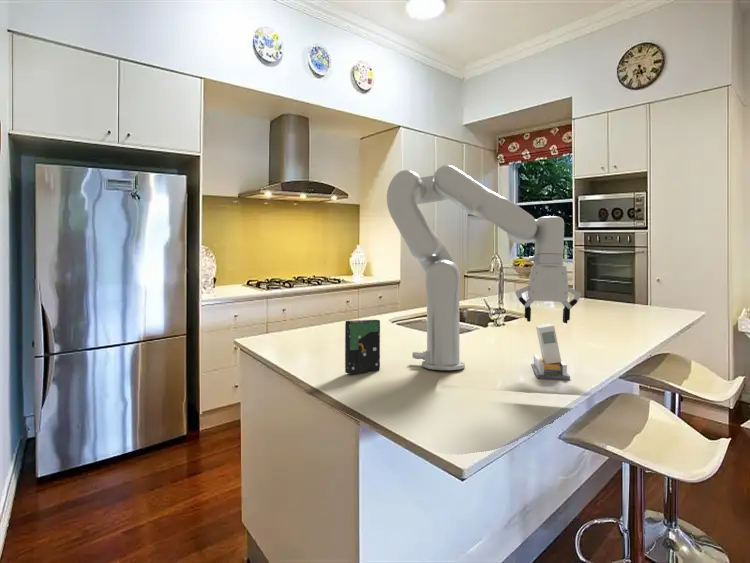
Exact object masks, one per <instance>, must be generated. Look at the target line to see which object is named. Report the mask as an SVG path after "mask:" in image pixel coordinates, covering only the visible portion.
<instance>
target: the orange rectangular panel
mask: <svg viewBox="0 0 750 563" xmlns="http://www.w3.org/2000/svg"><path fill="white" fill-rule="evenodd" d="M539 358H540V357H539ZM540 359H541V361H542V362H543V363H544V369H554V370H560V365H559V364H558V363H551V364H546V363H545V362H544V361H543V359H542V357H541V358H540Z"/></svg>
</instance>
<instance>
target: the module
mask: <svg viewBox="0 0 750 563" xmlns="http://www.w3.org/2000/svg"><path fill="white" fill-rule="evenodd" d="M535 327H536V332H537V339H538V343H539V344H538V345H539V349H540V353H541V354H540V355H541V358H542V359H543V361H544V362H545V363H546V364H551V363H558V362H561V360H562V359H561V358H562V357H561V354H560V349H559V347H560V346H559V343H558V338H557V333H556V328H555V325H554V324H552V323H551V322H550V323H543V324H538V325H537V324H536V325H535Z"/></svg>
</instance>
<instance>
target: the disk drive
mask: <svg viewBox="0 0 750 563" xmlns="http://www.w3.org/2000/svg"><path fill="white" fill-rule="evenodd" d="M344 326H345V328H344V330H345V331H344V333H345V334H344V335H345V336H344V337H345V338H344V340H345V341H344V343H345V345H344V356H345V357H344V368H345V369H344V372H345V374H348V375H355V374H362V373H369V372H379V370H381V368H380V367H381V361H380V360H381V354H380V353H381V321H380V319H360V320H359V319H357V320H345V324H344Z"/></svg>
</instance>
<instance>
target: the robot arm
mask: <svg viewBox="0 0 750 563" xmlns="http://www.w3.org/2000/svg"><path fill="white" fill-rule="evenodd" d="M446 200H450V201H451V202H453V203H454V204H455V205H457V206H459V207H460V208H462V209H463V210H465V211H466V212H467V213H468V214H471V215H472V216H474V217H478V218H481V219H484V220H486V221H488V222H489V223H491V224H494V225H495V226H496V227H498V228H499V229H501V230H503V232H505V233H506V236H507V238H508V239H509V240H510V241H511V242H512V243H514V244H521V245H522V244H529V243H534V254H533V256H528V262H531V263H533V265H531V267H530V274H529V279H528V285H526V286H524V287H522V288H520V289H518V290H516V291H514V293H515V296H516V298H517V299H518V301H519V302H520V304H522V305H523V306H524V319H526V322H531V315H532V308H531V304H533V303H534V302H550V303H552V302H553V303H561V304H562V305H563V309H562V322H563V324H568V321H570V319H571V309H572V308H573V307H574V306H576V304H577V303H578V301H579V300H580V298H581V296H582V293H581V292H579V291H577V290H575V289H574V288H571V287H570V286H569V276H568V269H567V266H565V265H564V245H565V244H564V240H565V221H564V219H563V218H562V217H560V216H554V215H552V216H551V215H549V216H541V217H538V218H537V219H536V218H535V217H534V216H533V215H532V214H530V212H528V211H526V210H524V209H523V208H522V207H520V206H519V205H517V204H515V203H514V202H512V201H511V200H510V199H508V198H506V197H504V196H502V195H500V194H498V193H497V192H495V191H493V190H491V189H489V188H488V187H486V186H485V185H483V184H481V183H480V182H478V181H476V180H475V179H474V178H472V177H471V176H470V175H467V174H466V173H465V172H464V171H462V170H460V169H458V168H457V167H455V166H454V165H450V164H444V165H441V166H440V167H438V168H437V169H436V170H435V172H434V174H433V175H428V176H422V177H421V176H420V175H419V174H418V173H416V172H415V171H413V170H410V169H403V170H401V171H398V172H397V173H395V175H394V176H393V177H392V179H391V181H390V182H389V185H388V186H387V191H386V204H387V209H388V212H389V215H390V217H391V219H392V221H393V223H394V224H395V226H396V228H397V229H398V232H399V234H400V235H401V237H402V239H403V240H404V242H405V244H406V246H407V247H408V249H409V251H410V253H411V255H412V256H413V257H414V258H415V259H416V260H417V261H418V262H419V264H420V266H422V269H423V270H424V272H425V292H426V350H425V351H422V352H420V351H412V359H416V360H423V361H421V366H422V367H423V368H425V369H429V370H434V371H435V370H436V371H456V370H457V371H458V370H462V369H464V368H465V367H466V363H465V362H464V361H461V360H460V281H461V277H462V276H461V275H462V274H461V270H460V269H459V267H458V265H457V264H456V262H455V260H454V259H453V257H452V255H451V254H450V253H449V251H448V249H447V248H446V246H445V244H444V243H443V241H442V239H441V238H440V237H439V235H437V233H435V231H434V230H433V229H432V228H431V226H430V225H429V224H428V221H426V219H425V216H424V214H423V213H422V211H421V210H420V208H419V206H418V205H423V204H430V203H436V202H441V201H446ZM525 292H527V294H528V299H527V300H525V298H524V297H523V295H522V294H523V293H525ZM569 294H571V295H572V296H573V297H572V299H571V300H570V301H568V299H569Z"/></svg>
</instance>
